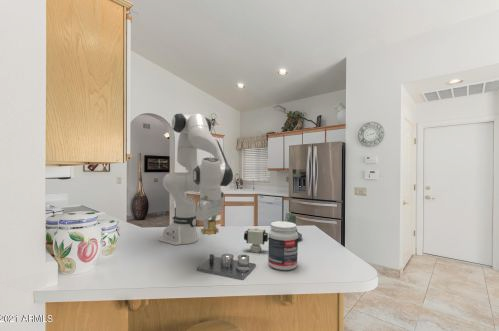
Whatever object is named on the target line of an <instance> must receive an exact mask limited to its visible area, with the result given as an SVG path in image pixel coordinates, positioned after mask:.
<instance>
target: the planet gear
mask: <svg viewBox="0 0 499 331" xmlns="http://www.w3.org/2000/svg"><path fill="white" fill-rule="evenodd" d="M208 224H209V228H208V229H204V227H203V228H200V233H201V234H202V235H207V236H210V235H217V234H219V230H220V228H218V227H217V220H211V219H209V221H208Z"/></svg>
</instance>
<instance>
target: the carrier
mask: <svg viewBox="0 0 499 331" xmlns="http://www.w3.org/2000/svg"><path fill="white" fill-rule="evenodd" d="M256 267H257V264H256V263H254V262H250V256H249V255H248V254H239V255H237V260H236V259H234V255H233V254H231V253H223V254H221V255H220V257H219V256H218V257H217V256H215V255H214V254H213V253H211V254H209V259H207V260H206V261H204V262H203V263H202V264H200V265H199V266H197V267H196V272H202V273H205V274H206V273H207V274H212V275H217V276H222V277H225V278H230V279H231V278H232V279H236V280H241V281H244V279H246V278H247V277H248V276H249V275H250V274H251V273H252V272H253V270H254V269H255V268H256Z"/></svg>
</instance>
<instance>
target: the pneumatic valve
mask: <svg viewBox="0 0 499 331" xmlns="http://www.w3.org/2000/svg"><path fill="white" fill-rule="evenodd" d="M268 238H269V232H266V229H259V228H258V227H257V228H256V227H255V228H248V229H247V230H245V231H244V234H243V240H244V241H246V244H251V245H250V248H249V249H250V252H251V253H256V254H258V253H260V252H261V251H262V246H261V245H265V243H267V242H269V240H268Z"/></svg>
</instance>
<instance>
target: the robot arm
mask: <svg viewBox="0 0 499 331" xmlns="http://www.w3.org/2000/svg"><path fill="white" fill-rule="evenodd" d="M171 128H172V130H173V131H174V132H176V133H178V134H179V136H178V140H177V151H176V153H177V154H176V155H177V156H176V159H177V160H176V161H177V163H178V164H179V165H180V166H182V167H184V168H185V169H187V172H174V171H173V172H170V173H166V174H165V175H164V177H163V178H162V186H163V188H164V189H165V191H167V192H168V193H169V194H170V195H171V196H172V197H173V198H172V199H173V200H174V202H175V215H174V216H171V220H172V223H170V224H169V225H167V226H166V227H165V228H164V230H163V232H162V235H161V236H160V237H159V238H158V241H159V242H163V243H166V244H170V245H173V246H174V245H175V246H178V245H187V244H188V245H189V244H194V243H196V242H197V241H199V238H198V233H197V221H199V222H200V221H201V222H202V223H203V228H204V229H208V228H209V224H208V221H209V220H215V221H217V217H218V216H217V215H218V214H220V213H222V212H223V205H224V199H223V198H224V197H225V193H224V192H223V191H222V188H221V187H227V186H229V185H230V184H231V183H232V181H233V180H234V179H233V178H234V173H233V170H232V168H231V166H230V164H229V163H228V160H227V158H226V155H225V153H224V151H223V149H222V147H221V144H220V143H219V140H217V139H216V138H215V137H213V135H212V134H211V131H212V130H211V129H212V122H211V119H209V118H208V117H205V115H203V114H201V113H193V114H183V113H175V114H174V115H173V117H172V119H171ZM198 150H201V151H204V152H207V153H209V154H211V155H212V156H213V157H204V158H202V159H201V164H200V165H199V163H198ZM186 192H187V193H188V192H193V193H195V192H196V193H197V192H199V201H198V202H197V203H196V201H195V200H194V199H193V198H191V197H188V196H187V195H186Z"/></svg>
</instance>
